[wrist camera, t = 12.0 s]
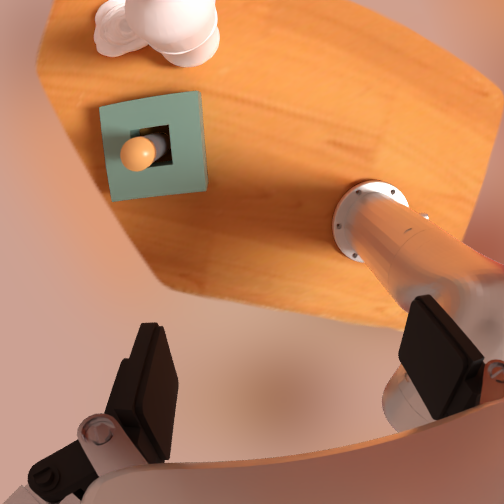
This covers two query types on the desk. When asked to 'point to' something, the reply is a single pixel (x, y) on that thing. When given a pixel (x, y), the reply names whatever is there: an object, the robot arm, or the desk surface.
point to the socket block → (181, 137)
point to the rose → (115, 30)
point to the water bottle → (176, 28)
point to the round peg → (144, 150)
